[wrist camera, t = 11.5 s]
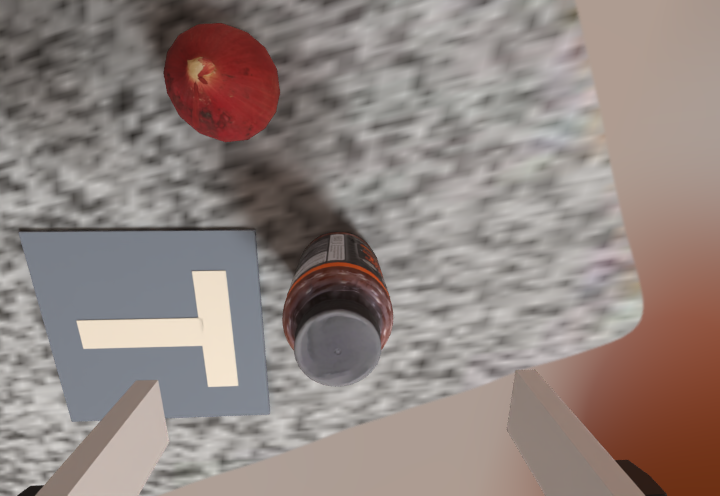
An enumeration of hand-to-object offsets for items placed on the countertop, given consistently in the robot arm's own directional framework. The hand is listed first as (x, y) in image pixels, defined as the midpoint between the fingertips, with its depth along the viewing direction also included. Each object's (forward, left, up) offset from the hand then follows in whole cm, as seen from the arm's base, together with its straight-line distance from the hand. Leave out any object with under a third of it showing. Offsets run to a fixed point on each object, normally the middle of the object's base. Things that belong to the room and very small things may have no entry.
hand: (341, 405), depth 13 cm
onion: (-12, -6, -14) cm, 20 cm away
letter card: (+5, -14, -14) cm, 21 cm away
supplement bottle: (0, 0, -15) cm, 14 cm away
